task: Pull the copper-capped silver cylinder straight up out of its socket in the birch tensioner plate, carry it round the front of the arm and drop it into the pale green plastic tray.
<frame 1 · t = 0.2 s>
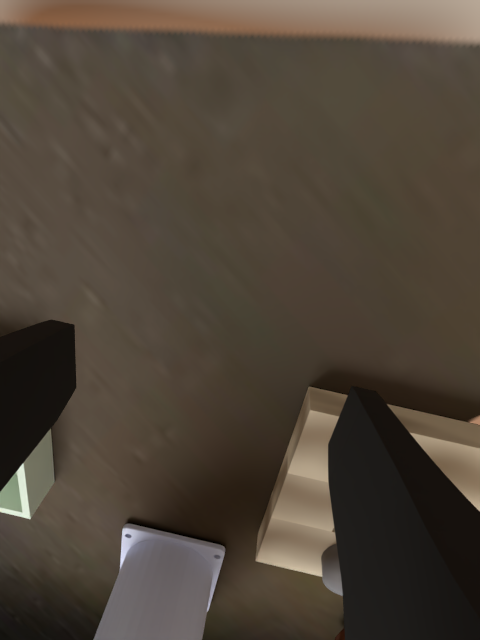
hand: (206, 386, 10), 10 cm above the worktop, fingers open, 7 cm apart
tensioner plate: (370, 490, 25), on the worktop
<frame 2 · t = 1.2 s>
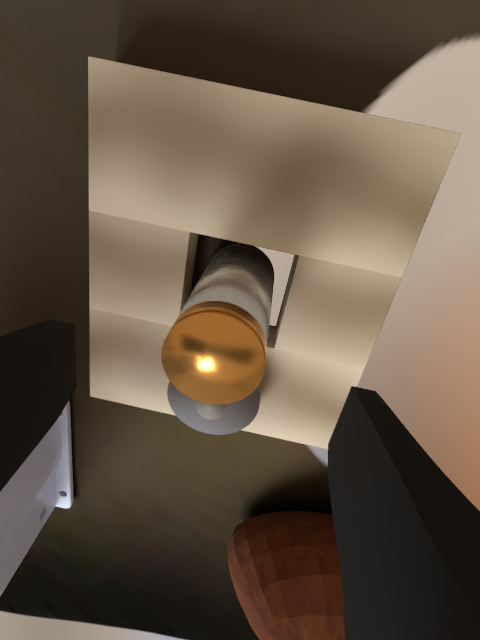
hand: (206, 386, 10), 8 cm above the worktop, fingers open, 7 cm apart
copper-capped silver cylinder: (240, 275, 17), resting in tensioner plate
tensioner plate: (240, 276, 17), on the worktop
potato: (321, 518, 24), on the worktop
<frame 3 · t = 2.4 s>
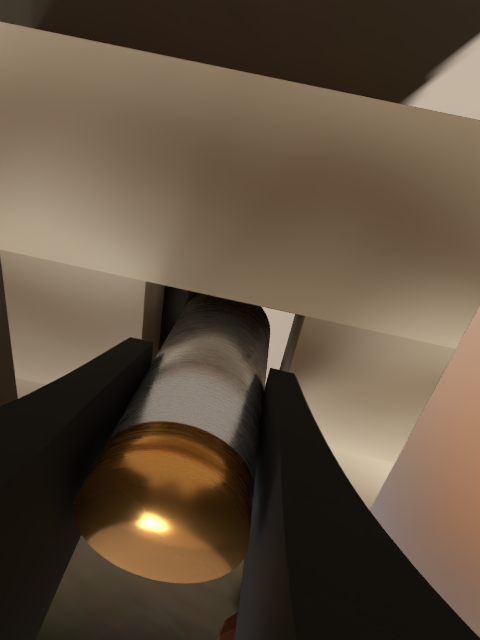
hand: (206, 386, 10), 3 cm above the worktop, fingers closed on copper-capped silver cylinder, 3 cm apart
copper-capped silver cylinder: (224, 330, 13), resting in tensioner plate, touching gripper
tensioner plate: (224, 330, 13), on the worktop
potato: (330, 608, 20), on the worktop
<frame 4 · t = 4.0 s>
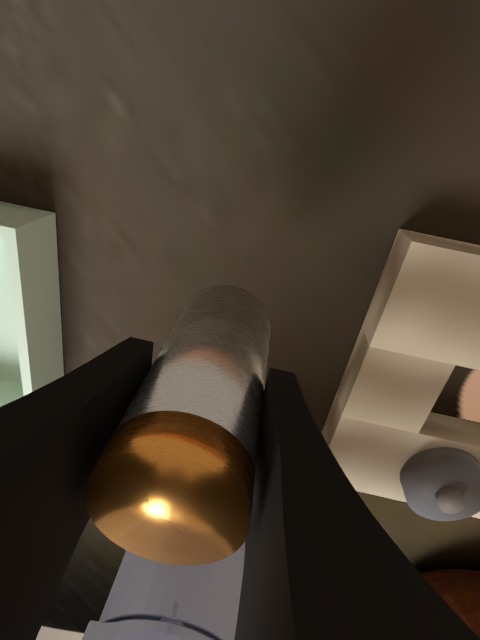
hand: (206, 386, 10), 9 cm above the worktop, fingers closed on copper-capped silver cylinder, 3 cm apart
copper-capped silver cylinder: (226, 326, 13), point 6 cm above the worktop, touching gripper
tensioner plate: (463, 384, 20), on the worktop
potato: (478, 573, 27), on the worktop
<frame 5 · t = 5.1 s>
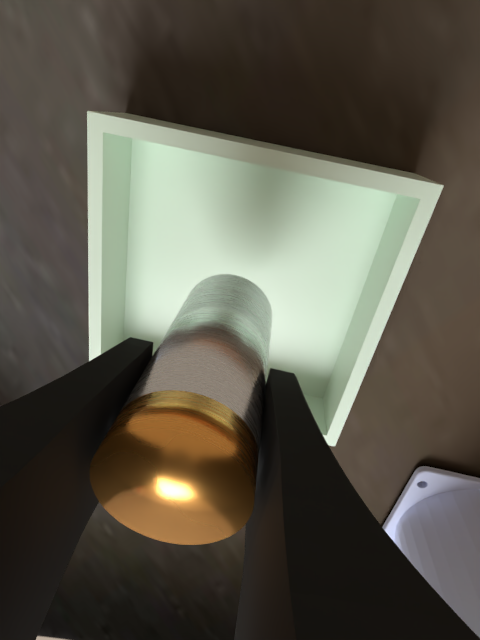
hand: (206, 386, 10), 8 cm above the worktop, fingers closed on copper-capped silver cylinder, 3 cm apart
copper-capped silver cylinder: (228, 315, 13), point 4 cm above the worktop, touching gripper
tray: (242, 278, 17), on the worktop
when the fingers open (5 cm above the worktop, at t = 5.7 s): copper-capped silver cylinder drops 1 cm, resting on tray.
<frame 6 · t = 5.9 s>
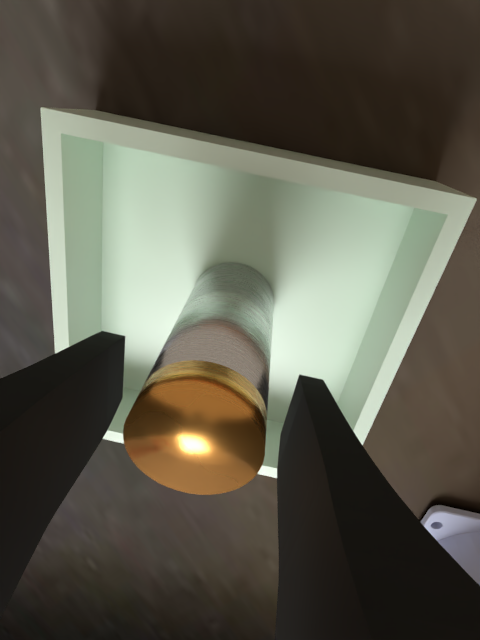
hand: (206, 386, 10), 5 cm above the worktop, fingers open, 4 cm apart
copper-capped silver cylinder: (233, 300, 14), point 1 cm above the worktop, touching tray
tray: (234, 300, 15), on the worktop
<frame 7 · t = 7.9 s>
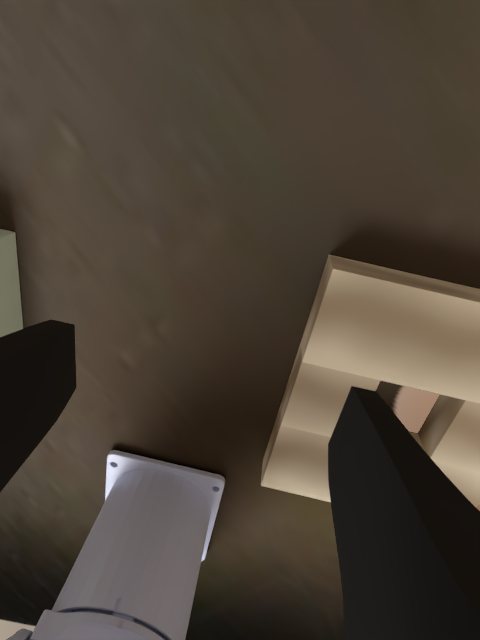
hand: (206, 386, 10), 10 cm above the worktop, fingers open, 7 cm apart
tensioner plate: (396, 397, 21), on the worktop
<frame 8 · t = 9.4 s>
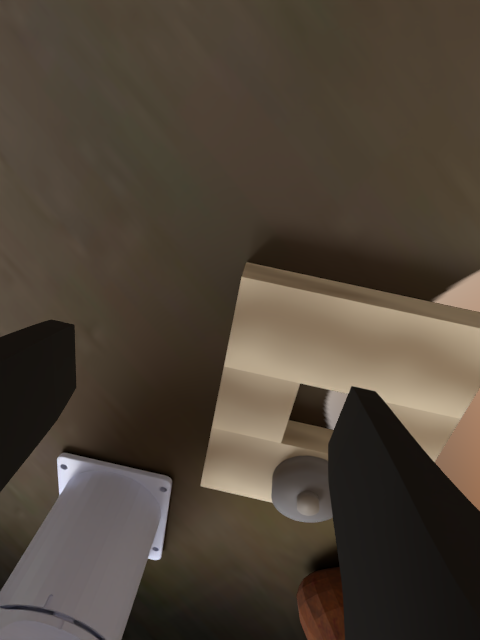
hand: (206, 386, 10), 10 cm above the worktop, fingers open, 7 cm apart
tensioner plate: (326, 399, 22), on the worktop
potato: (373, 571, 29), on the worktop
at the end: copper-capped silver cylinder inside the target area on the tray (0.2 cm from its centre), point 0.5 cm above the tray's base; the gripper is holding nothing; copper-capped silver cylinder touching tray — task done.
